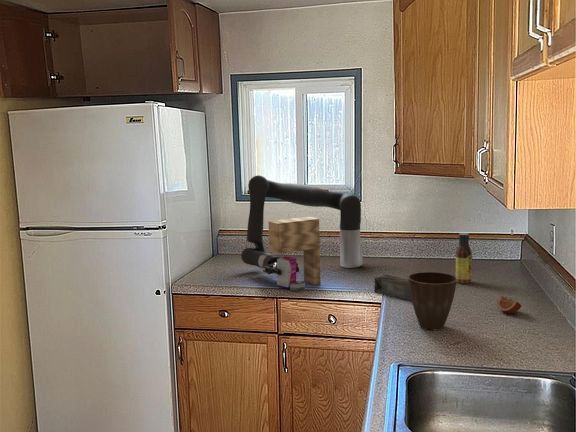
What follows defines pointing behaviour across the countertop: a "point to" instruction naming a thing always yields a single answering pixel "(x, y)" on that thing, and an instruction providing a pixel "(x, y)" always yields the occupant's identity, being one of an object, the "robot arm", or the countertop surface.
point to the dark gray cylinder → (297, 286)
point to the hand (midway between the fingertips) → (289, 271)
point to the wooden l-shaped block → (298, 242)
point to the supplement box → (286, 271)
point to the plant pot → (432, 297)
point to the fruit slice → (508, 305)
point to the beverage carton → (393, 286)
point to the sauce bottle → (463, 260)
